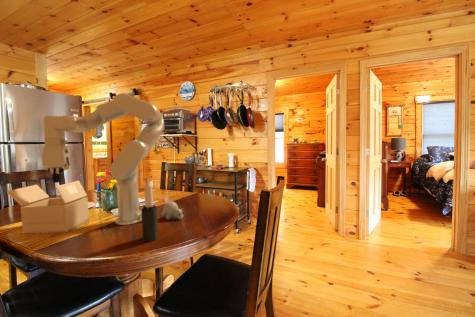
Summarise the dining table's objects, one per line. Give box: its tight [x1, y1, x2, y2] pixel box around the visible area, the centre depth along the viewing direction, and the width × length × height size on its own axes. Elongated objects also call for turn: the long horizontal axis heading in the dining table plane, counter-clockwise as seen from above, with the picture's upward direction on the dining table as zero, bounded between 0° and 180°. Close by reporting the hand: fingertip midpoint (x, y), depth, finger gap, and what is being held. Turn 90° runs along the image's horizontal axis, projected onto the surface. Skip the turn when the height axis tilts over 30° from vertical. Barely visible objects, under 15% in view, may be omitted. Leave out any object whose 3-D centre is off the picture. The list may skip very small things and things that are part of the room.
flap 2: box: [54, 180, 88, 204], centre depth 109 cm, size 8×16×1 cm
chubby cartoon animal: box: [160, 200, 185, 220], centre depth 118 cm, size 7×12×8 cm, turn 65°
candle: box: [140, 177, 159, 242], centre depth 93 cm, size 5×5×25 cm
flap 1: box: [6, 184, 50, 207], centre depth 108 cm, size 8×16×1 cm
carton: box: [20, 196, 90, 234], centre depth 109 cm, size 19×17×12 cm
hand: (57, 182), depth 108 cm, fingers closed
